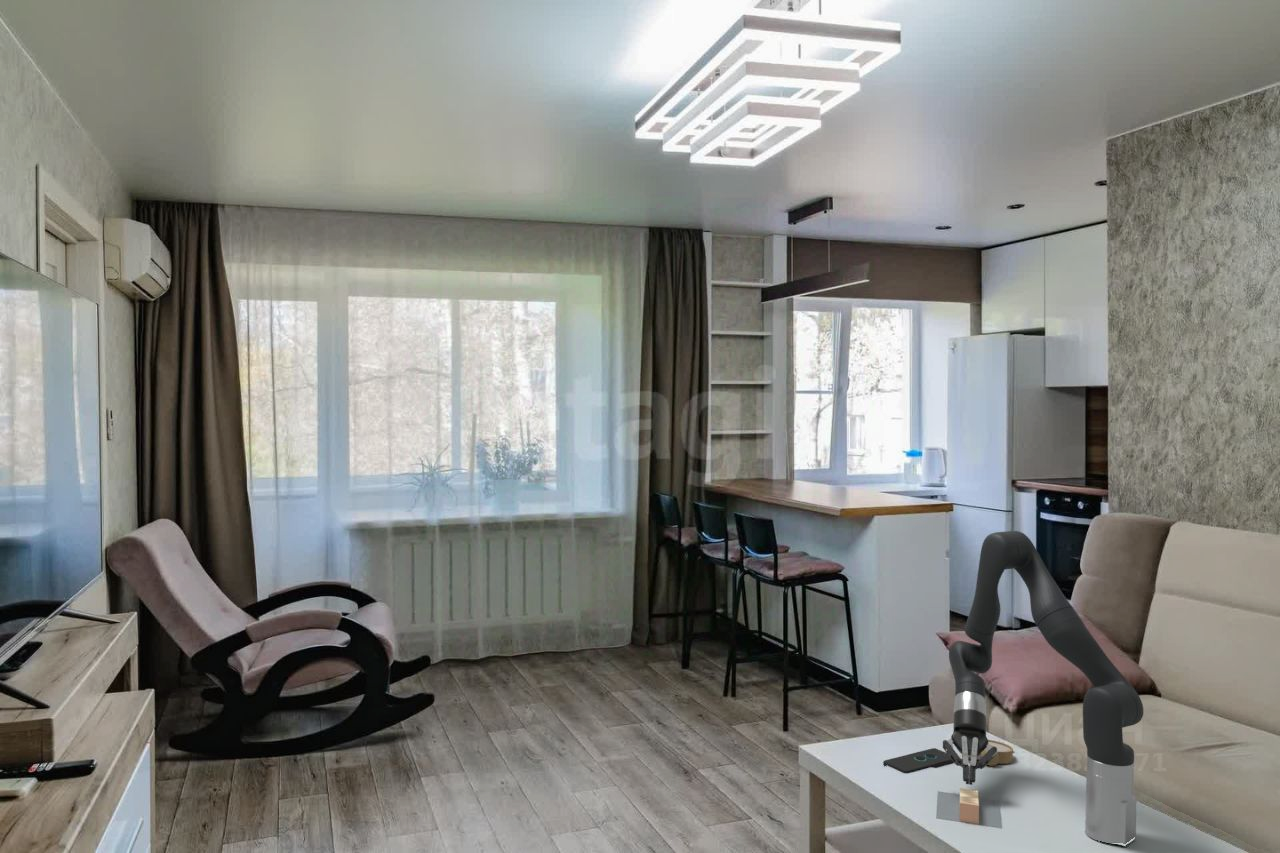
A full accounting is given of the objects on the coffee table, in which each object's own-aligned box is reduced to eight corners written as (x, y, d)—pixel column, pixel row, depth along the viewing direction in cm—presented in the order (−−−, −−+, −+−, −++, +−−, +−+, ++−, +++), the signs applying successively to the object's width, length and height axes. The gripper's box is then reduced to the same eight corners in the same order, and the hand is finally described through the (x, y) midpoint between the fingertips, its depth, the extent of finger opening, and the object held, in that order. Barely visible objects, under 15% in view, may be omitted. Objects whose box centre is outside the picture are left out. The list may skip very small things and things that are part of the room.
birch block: (978, 790, 214) (979, 805, 206) (977, 807, 214) (978, 823, 206) (959, 787, 216) (959, 802, 207) (959, 805, 216) (959, 820, 207)
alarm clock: (1022, 748, 247) (992, 750, 238) (1019, 767, 247) (990, 769, 238) (984, 736, 256) (953, 738, 247) (981, 754, 256) (951, 756, 246)
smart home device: (958, 757, 244) (905, 771, 234) (958, 763, 244) (905, 777, 234) (934, 747, 252) (881, 760, 241) (933, 753, 252) (881, 766, 241)
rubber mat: (999, 802, 219) (999, 800, 219) (1002, 830, 204) (1002, 828, 204) (937, 793, 223) (937, 791, 223) (936, 820, 208) (936, 818, 208)
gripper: (941, 704, 226) (939, 771, 215) (999, 711, 222) (1000, 780, 211) (941, 719, 231) (939, 785, 220) (997, 726, 227) (998, 794, 216)
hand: (969, 783), depth 215 cm, fingers closed
